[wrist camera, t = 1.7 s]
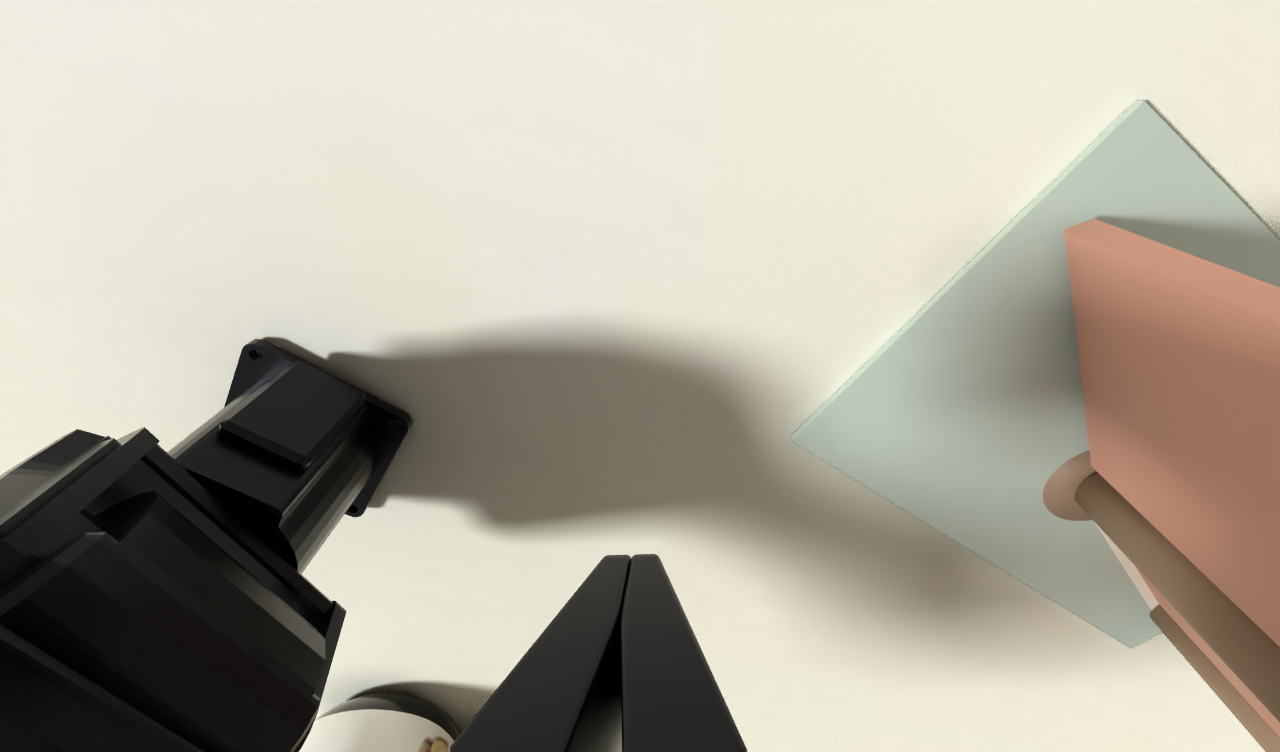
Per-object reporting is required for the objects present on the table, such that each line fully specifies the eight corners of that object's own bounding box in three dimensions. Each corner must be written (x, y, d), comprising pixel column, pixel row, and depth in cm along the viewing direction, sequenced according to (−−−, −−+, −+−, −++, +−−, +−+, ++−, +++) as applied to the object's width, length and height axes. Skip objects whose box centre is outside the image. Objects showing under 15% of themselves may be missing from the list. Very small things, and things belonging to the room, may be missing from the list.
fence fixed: (1160, 623, 26) (1386, 881, 18) (985, 510, 23) (1161, 760, 15) (1285, 559, 24) (1612, 824, 15) (1107, 423, 21) (1399, 665, 12)
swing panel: (1131, 499, 22) (1388, 742, 14) (1076, 514, 22) (1294, 756, 14) (1112, 207, 16) (1519, 343, 8) (1038, 236, 17) (1358, 389, 9)
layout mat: (1126, 642, 27) (1131, 649, 27) (789, 437, 22) (791, 442, 21) (1486, 458, 21) (1498, 464, 20) (1136, 99, 15) (1146, 99, 15)
